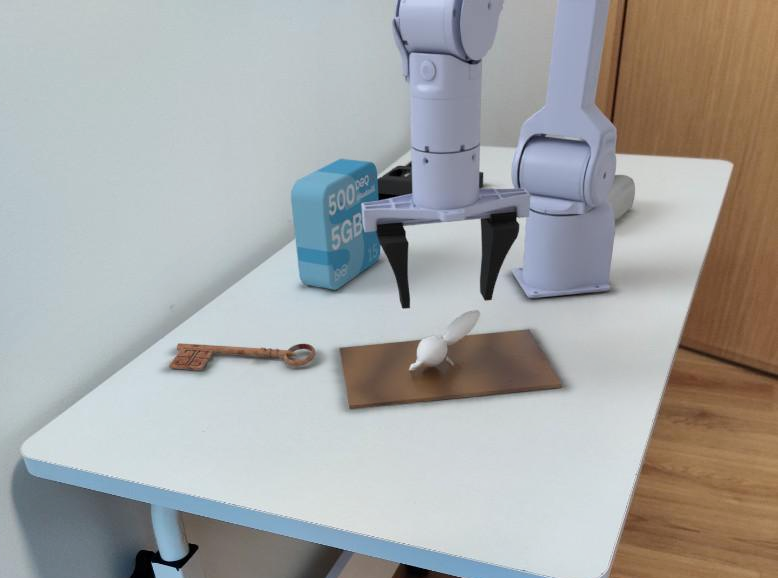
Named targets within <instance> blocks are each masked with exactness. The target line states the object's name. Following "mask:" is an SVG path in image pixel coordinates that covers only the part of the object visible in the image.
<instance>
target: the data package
mask: <svg viewBox="0 0 778 578" xmlns="http://www.w3.org/2000/svg"><path fill="white" fill-rule="evenodd" d="M290 201H291V202H290V203H291V212H292V222H293V230H294V239H295V248H296V258H297V267H298V275H299V280H300V281H301V283H302V284H304V285H306V286H312V287H317V288H322V289H328V290H334V291H337V290H338V289H340V288H341V287H343V286H344V285H346V284H348V283H349V282H350V281H351V280H353V279H354V278H356V277H357V276H358V275H360V274H362V273H363V272H364V271H366V270H367V269H368V268H370V267H372V266H373V265H374V264H375V263H377V261H378V260H379V258H380V255H381V249H382V247H381V245H380V243H379V240H378V237H377V234H376V231H374V232H365V231H364V228H363V223H362V207H361V203H366V202H374V201H379V193H378V170H377V166H376V164H375V163H374V162H373V161H366V160H357V159H347V158H339V159H337V160H335V161H333V162H331V163H329V164H326V165H325V166H322V167H321V168H319V169H316V170H314V171H313V172H311V173H309V174H307V175H305V176H303V177H301V178H299V179H298V180H296V181H294V183H293V185H292V187H291V192H290Z"/></svg>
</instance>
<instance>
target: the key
mask: <svg viewBox="0 0 778 578" xmlns="http://www.w3.org/2000/svg"><path fill="white" fill-rule="evenodd" d="M176 350H177V352H178V353H177V354H176V356H175V357H174V358H173V359H172V361H171V362H170V363H169V365H168V368H169V369H181V370H183V369H184V370H197V371H198V370H199V371H202V370H203V369H204V367H205V365H207V363H208V361H209V360H210V358H211V357H212V356H213V354H224V355H236V356H237V355H239V356H257V357H260V358H266V357H267V358H272V357H274V358H283V359H284V361H285V363H286V364H287V365H288V366H291V367H301V366H305V365H307V364H309V363H310V362H311V361H313V359H314V358H315V356H316V349H315V347H314V346H313V345H311V344H309V343H297V344H294V345H292V346H290V347H289V348H288V349H279V348H274V349H273V348H270V347H269V348H266V347H247V346H245V347H244V346H230V345H229V346H228V345H212V344H198V343H197V344H196V343H181V342H179V343H177V345H176ZM300 350H308V351H310V352H311V353H310V354H309V355H308V356H307V357H305V358H303V359H297V360H293V359H290V358H293V357H295V356H297V353H296V351H300Z"/></svg>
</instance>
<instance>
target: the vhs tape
mask: <svg viewBox="0 0 778 578" xmlns="http://www.w3.org/2000/svg"><path fill="white" fill-rule="evenodd" d="M377 179H378V194H380V195H381V194H382V195H392V196H403V195H408V194H412V165H397V166H395V167H393V168H392V169H391V170H389V171H388V172H386V173H385V174H383V175H382V176H379V177H377ZM483 187H484V172H483V171H479V188H483Z"/></svg>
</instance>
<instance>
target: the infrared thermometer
mask: <svg viewBox="0 0 778 578" xmlns="http://www.w3.org/2000/svg"><path fill="white" fill-rule="evenodd" d="M635 196H636V186H635V181H634V179H633V178H632V177H631V176H628V175H626V174H615V177H614V181H613V184H612V187H611V190H610V192H609V194H608V196H607V197H606V199H605V200H604V201H608V202H609V203H610V204H611V206H612V209H613V212H614V218H615V221H616V220H618V219H620V218H621V217H622V216H623V215H624V214H625V213H626V212H627V211H629V210H630V209H631V208H632V207H633V204H634V201H635V198H636V197H635Z"/></svg>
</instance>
